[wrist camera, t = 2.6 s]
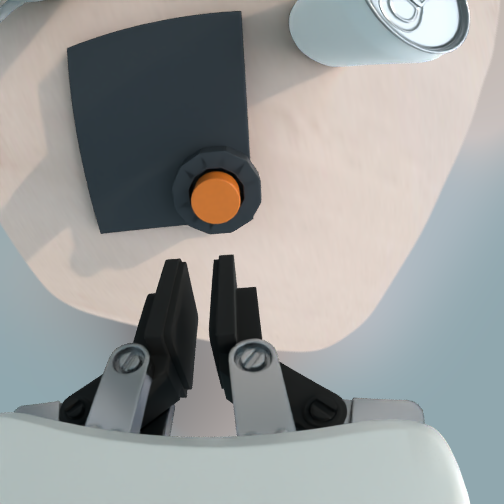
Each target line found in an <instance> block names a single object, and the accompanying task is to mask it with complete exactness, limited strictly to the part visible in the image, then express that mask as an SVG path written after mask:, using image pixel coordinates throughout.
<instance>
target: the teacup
mask: <svg viewBox="0 0 504 504" xmlns="http://www.w3.org/2000/svg"><path fill="white" fill-rule="evenodd" d="M37 1H43V0H7V1H6V2H5V3H4V4H3V5H2V6H1V7H0V23H1V22H2V21H3V20H4V19H5V18H6V17H7V16H8V15H9V14H10V13H11V12H12V11H13V10H14V9H16V8H18V7H20V6H22V5H23V4H24V3H25V2H37Z"/></svg>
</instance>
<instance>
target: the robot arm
mask: <svg viewBox="0 0 504 504" xmlns="http://www.w3.org/2000/svg"><path fill="white" fill-rule="evenodd" d="M197 327H198V313H197V309H196V304H195V300H194V295H193V291H192V286H191V282H190V277H189V272H188V268H187V263H186V262H182V261H181V259H168V260H166V261H165V264H164V267H163V270H162V274H161V277H160V280H159V283H158V287H157V290H156V293H154V294H148V296H147V298H146V301H145V304H144V308H143V311H142V314H141V318H140V321H139V324H138V328H137V331H136V335H135V338H134V342H133V343H127V344H124V345H121V346H120V347H118V348H116V349H115V350H114V351H113V352H112V354H111V356H110V357H109V360H108V362H107V365H106V367H105V370H104V373H103V374H102V375H101V376H99V377H98V378H96V379H95V380H93V381H92V382H90V383H89V384H87V385H86V386H84V387H83V388H81V389H80V390H78V391H77V392H75V393H74V394H72V395H71V396H69V397H68V398H67V399H66V400H65V401H64V402H63V403H60V402H59V401H56V402H48V403H41V404H33V405H24V406H21V407H18V408H17V409H16V410H15V411H14V413H12V412H11V413H10V412H8V413H0V504H470V501H469V497H468V493H467V490H466V487H465V484H464V481H463V478H462V475H461V472H460V469H459V467H458V464H457V462H456V460H455V457H454V455H453V453H452V451H451V449H450V447H449V445H448V444H447V442H446V440H445V439H444V438H443V436H442V435H441V434H440V433H439V432H438V431H437V430H436V429H435V428H433V427H431V426H429V425H426V424H425V423H424V414H423V410H422V409H421V407H420V406H419V405H418V404H416V403H415V402H413V401H409V400H386V399H367V398H353V399H352V400H344V399H342V398H341V397H339V396H338V395H337V394H335V393H333V392H331V391H330V390H328V389H326V388H324V387H322V386H321V385H319V384H317V383H315V382H313V381H312V380H310V379H308V378H306V377H305V376H303V375H301V374H299V373H298V372H296V371H294V370H292V369H291V368H289V367H287V366H286V365H284V364H282V363H281V362H279V359H278V355H277V352H276V350H275V348H274V347H273V346H272V345H271V344H270V343H268V342H267V341H265V340H262V334H261V325H260V317H259V308H258V299H257V291H256V287H248V288H237V282H236V273H235V263H234V255H221V256H219V259H218V260H214V264H213V277H212V290H211V305H210V320H209V337H210V343H211V347H212V351H213V356H214V359H215V364H216V368H217V372H218V376H219V380H220V384H221V387H222V389H224V391H225V395H226V399H227V400H229V401H230V402H231V403H233V405H234V415H235V423H236V431H237V436H233V437H178V436H170V433H171V428H172V422H173V416H174V410H175V405H174V404H175V403H176V402H177V401H179V400H180V397H182V398H184V397H185V398H186V397H187V390H188V389H192V384H193V371H194V359H195V348H196V337H197Z"/></svg>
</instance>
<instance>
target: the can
mask: <svg viewBox="0 0 504 504" xmlns="http://www.w3.org/2000/svg"><path fill="white" fill-rule="evenodd" d="M469 27H470V12H469V7H468V3H467V0H298V1H297V2H296V4H295V5H294V7H293V8H292V10H291V13H290V17H289V29H290V33H291V36H292V38H293V40H294V42H295V44H296V45H297V47H298V48H299V49H300V50H301V51H302V52H303V53H304V54H305V55H306V56H308V57H309V58H311V59H313V60H315V61H317V62H319V63H321V64H324V65H327V66H333V67H345V66H358V65H373V64H395V63H421V62H427V61H431V60H434V59H436V58H438V57H440V56H441V55H443V54H445V53H449V52H452V51H454V50H456V49H457V48H458V47H460V46H461V45H462V43H463V42H464V41H465V39H466V37H467V35H468V31H469Z"/></svg>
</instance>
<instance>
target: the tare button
mask: <svg viewBox="0 0 504 504" xmlns="http://www.w3.org/2000/svg"><path fill="white" fill-rule="evenodd" d="M191 206H192V209H193V211H194V213H195V214H196V215H197V216H198V217H199V218H200V219H201V220H203V221H205V222H207V223H211V224H221V223H225V222H227V221H229V220H230V219H232V218H233V217H234V216H235V215H236V214H237V212H238V210H239V207H240V190H239V186H238V184H237V182H236V180H235V179H234V178H233V177H232V176H230V175H229V174H227V173H224V172H220V171H213V172H209V173H206V174H204V175H203V176H202V177H200V178H199V179H198V181H197V182H196V184H195V187H194V190H193V193H192V196H191Z"/></svg>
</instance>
